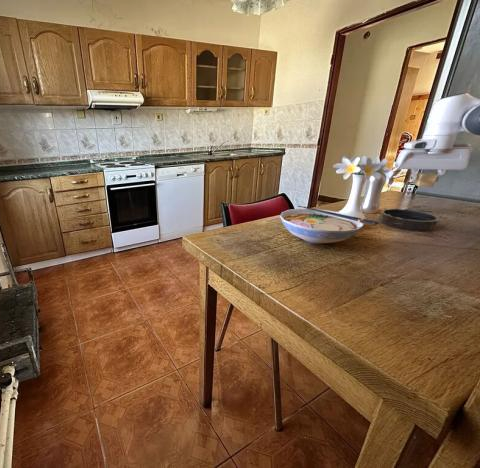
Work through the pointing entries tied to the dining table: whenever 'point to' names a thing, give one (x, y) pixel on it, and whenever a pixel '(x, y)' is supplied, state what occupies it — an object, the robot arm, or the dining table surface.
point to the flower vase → (362, 179)
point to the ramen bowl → (321, 224)
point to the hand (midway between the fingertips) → (424, 181)
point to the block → (425, 179)
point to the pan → (409, 219)
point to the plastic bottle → (372, 194)
